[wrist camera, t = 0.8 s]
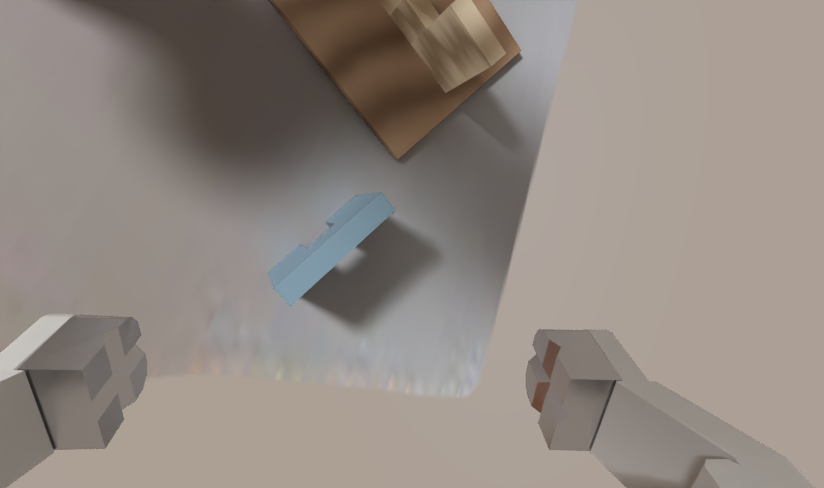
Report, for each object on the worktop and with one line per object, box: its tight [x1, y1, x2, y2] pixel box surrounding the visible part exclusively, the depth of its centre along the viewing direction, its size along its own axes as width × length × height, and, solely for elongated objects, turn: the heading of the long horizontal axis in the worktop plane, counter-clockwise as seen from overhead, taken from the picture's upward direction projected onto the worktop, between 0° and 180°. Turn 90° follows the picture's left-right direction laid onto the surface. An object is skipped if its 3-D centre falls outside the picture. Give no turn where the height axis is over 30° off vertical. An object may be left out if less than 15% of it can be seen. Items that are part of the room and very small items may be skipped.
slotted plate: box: [268, 192, 396, 306], centre depth 43 cm, size 12×2×10 cm, turn 131°
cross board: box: [269, 0, 521, 160], centre depth 44 cm, size 20×20×11 cm
